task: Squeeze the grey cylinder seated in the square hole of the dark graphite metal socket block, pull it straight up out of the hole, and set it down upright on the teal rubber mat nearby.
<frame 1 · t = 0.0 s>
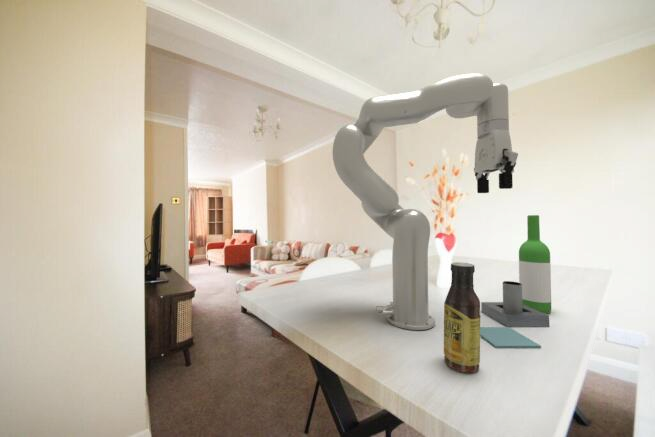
hand: (493, 190, 71), 37 cm above the table, tool pointing down, fingers open, 9 cm apart
sauce bottle: (462, 367, 49), on the table
mat: (502, 337, 60), on the table
wine bottle: (535, 311, 79), on the table
grey cylinder: (512, 319, 72), resting in socket block
socket block: (512, 318, 72), on the table
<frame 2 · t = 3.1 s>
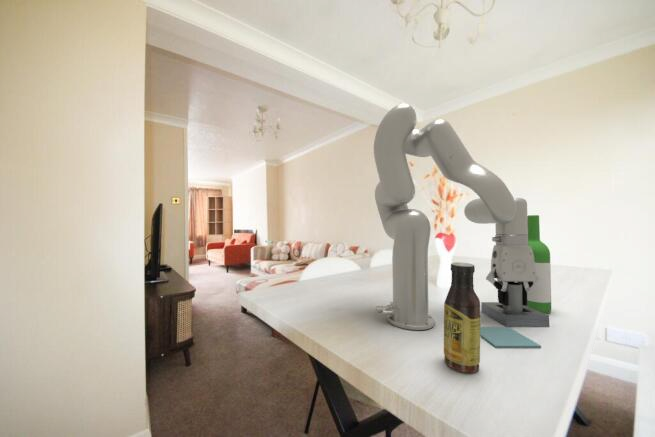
hand: (512, 303, 72), 4 cm above the table, tool pointing down, fingers closed on grey cylinder, 4 cm apart
grey cylinder: (512, 319, 72), resting in socket block, touching gripper
everything else where it was.
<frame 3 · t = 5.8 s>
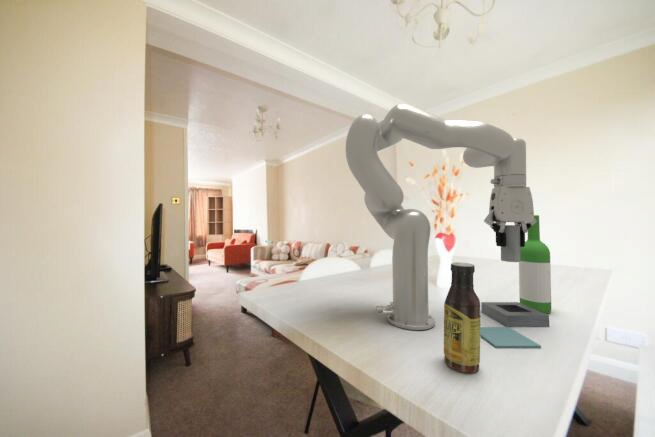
hand: (510, 245, 72), 21 cm above the table, tool pointing down, fingers closed on grey cylinder, 4 cm apart
grey cylinder: (510, 261, 72), point 16 cm above the table, touching gripper
everything else where it was.
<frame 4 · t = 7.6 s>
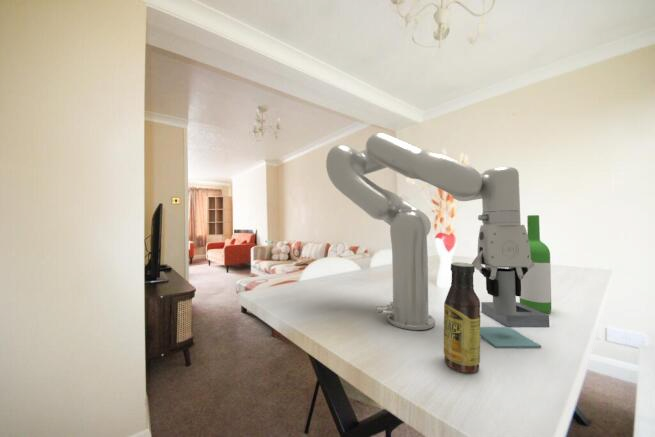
hand: (503, 294, 60), 10 cm above the table, tool pointing down, fingers closed on grey cylinder, 4 cm apart
grey cylinder: (504, 313, 60), point 6 cm above the table, touching gripper
everything else where it was.
when the fingers open (6 cm above the table, at t = 8.8 s): grey cylinder drops 1 cm, resting on mat.
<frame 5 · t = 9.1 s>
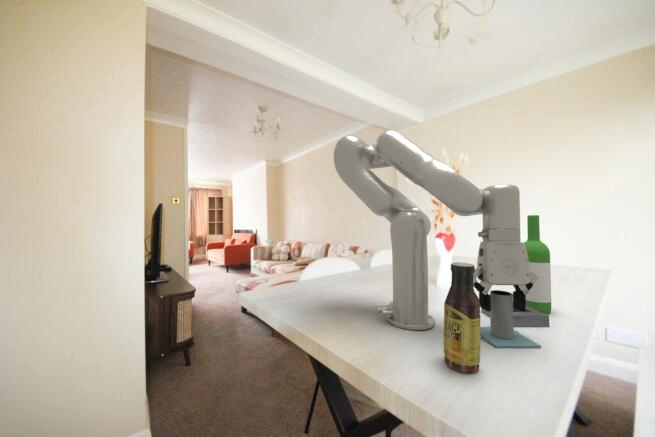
hand: (502, 309, 61), 7 cm above the table, tool pointing down, fingers open, 7 cm apart
grey cylinder: (501, 336, 60), resting on mat
everything else where it was.
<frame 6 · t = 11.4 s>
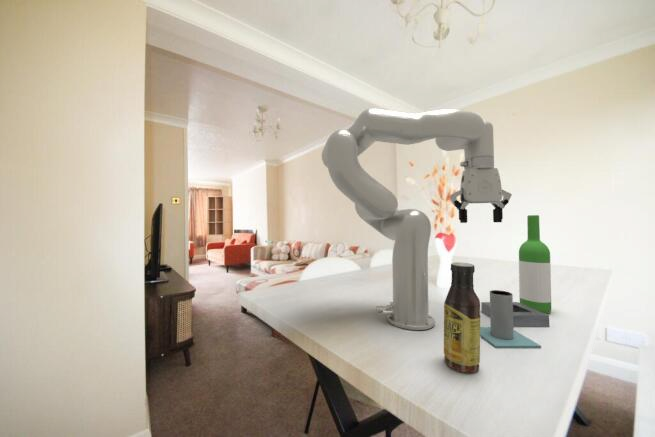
hand: (480, 222, 75), 28 cm above the table, tool pointing down, fingers open, 9 cm apart
nothing on the table moved.
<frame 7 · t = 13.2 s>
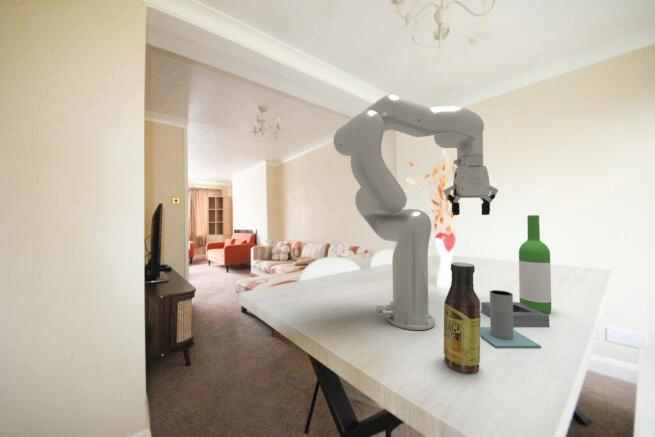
hand: (470, 214, 83), 30 cm above the table, tool pointing down, fingers open, 9 cm apart
nothing on the table moved.
at the end: grey cylinder 0.2 cm off-centre on the mat, point 0.3 cm above the mat's base; grey cylinder tilted 0°; grey cylinder touching mat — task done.
